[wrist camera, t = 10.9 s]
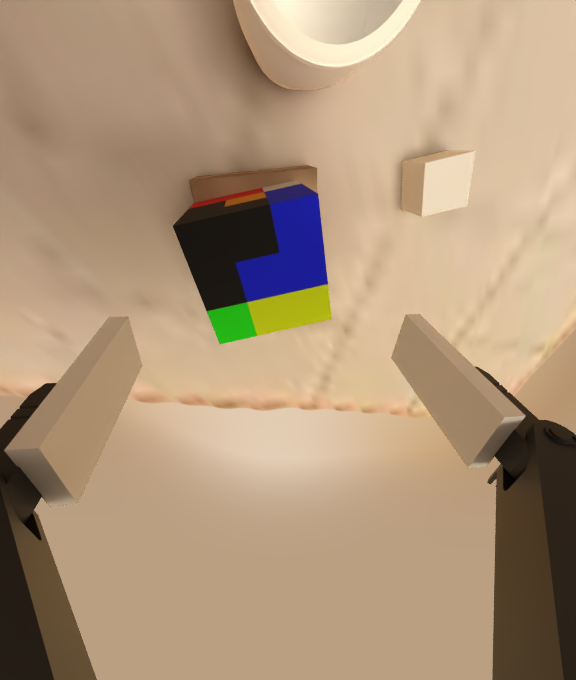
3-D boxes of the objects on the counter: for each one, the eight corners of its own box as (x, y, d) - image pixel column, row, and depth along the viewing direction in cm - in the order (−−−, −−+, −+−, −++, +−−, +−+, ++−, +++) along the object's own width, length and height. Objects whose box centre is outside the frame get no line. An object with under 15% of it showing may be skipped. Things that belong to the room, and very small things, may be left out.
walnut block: (196, 176, 30) (189, 180, 26) (307, 165, 31) (316, 168, 27) (220, 281, 37) (217, 298, 33) (310, 270, 38) (318, 285, 34)
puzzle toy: (295, 180, 27) (317, 193, 19) (310, 276, 33) (331, 319, 25) (194, 202, 27) (172, 225, 19) (226, 295, 33) (219, 344, 25)
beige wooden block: (401, 161, 32) (425, 163, 28) (445, 150, 32) (475, 150, 28) (400, 208, 35) (421, 216, 30) (440, 199, 34) (467, 205, 30)
